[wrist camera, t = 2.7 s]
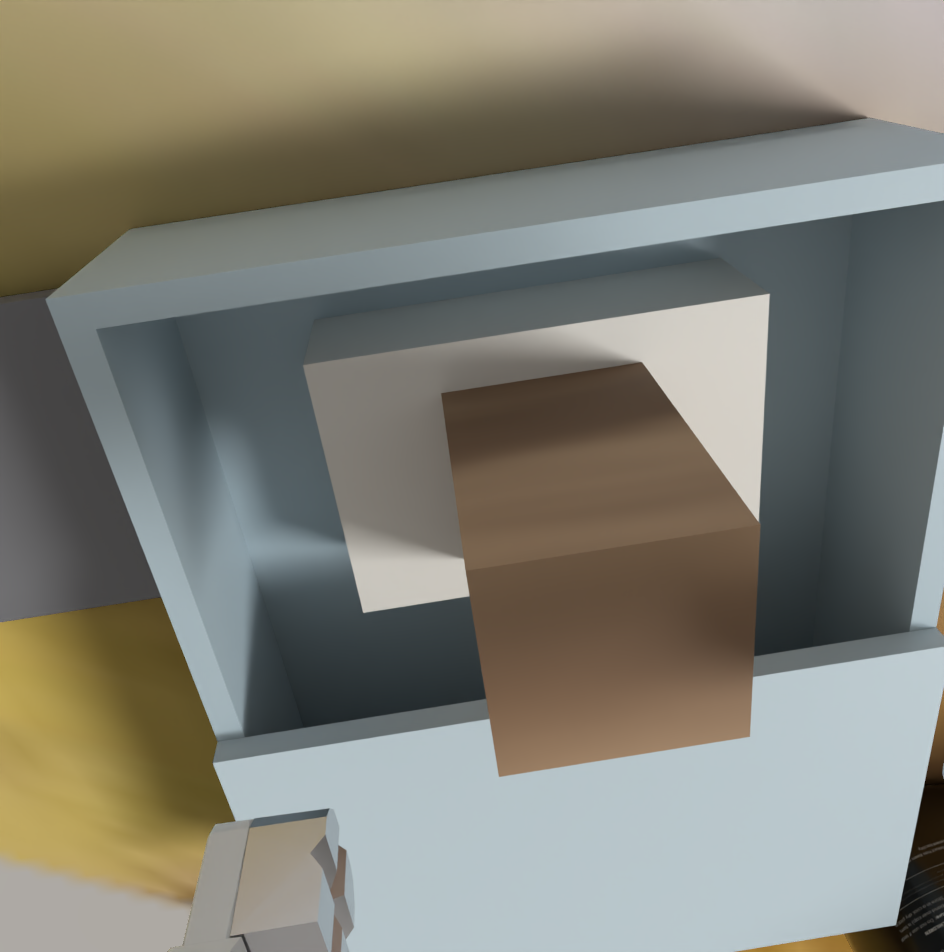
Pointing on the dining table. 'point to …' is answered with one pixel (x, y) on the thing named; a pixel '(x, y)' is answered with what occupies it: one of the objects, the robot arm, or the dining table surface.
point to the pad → (56, 482)
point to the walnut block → (601, 570)
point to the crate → (439, 541)
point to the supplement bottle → (916, 889)
